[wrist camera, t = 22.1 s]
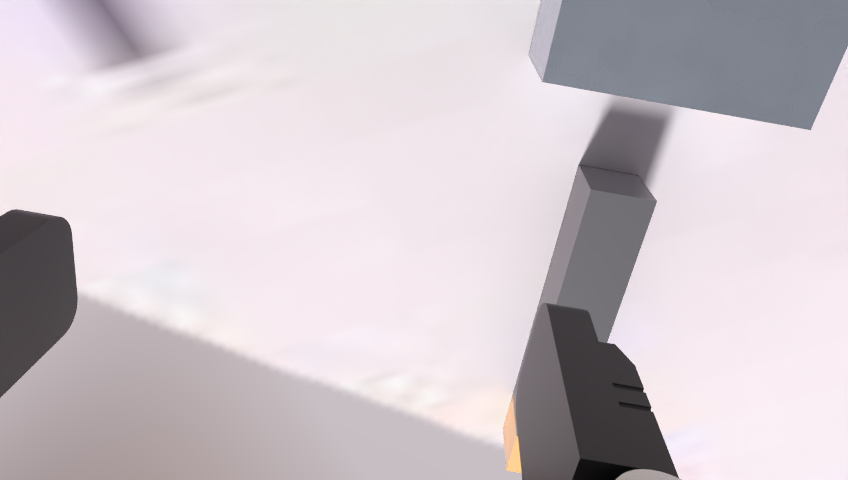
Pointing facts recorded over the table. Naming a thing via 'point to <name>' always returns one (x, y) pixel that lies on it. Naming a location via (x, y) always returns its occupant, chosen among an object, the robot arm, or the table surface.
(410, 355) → the table surface
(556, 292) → the plug rod
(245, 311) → the table surface
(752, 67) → the housing
